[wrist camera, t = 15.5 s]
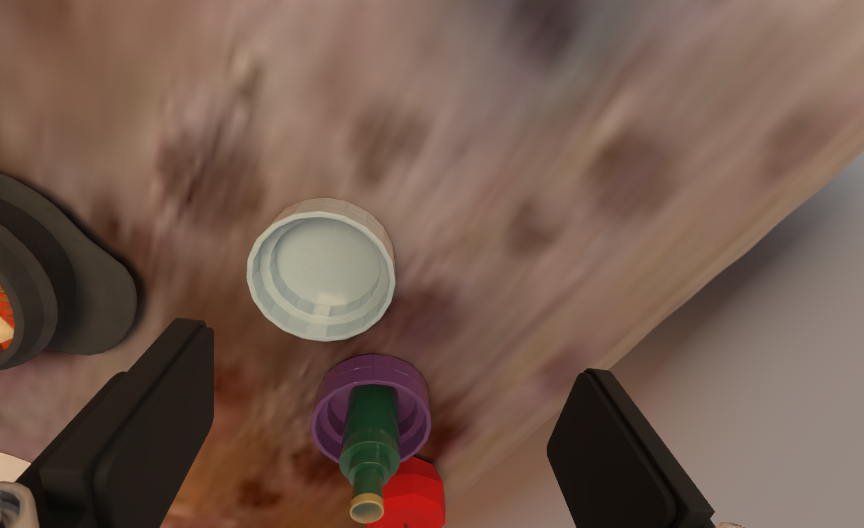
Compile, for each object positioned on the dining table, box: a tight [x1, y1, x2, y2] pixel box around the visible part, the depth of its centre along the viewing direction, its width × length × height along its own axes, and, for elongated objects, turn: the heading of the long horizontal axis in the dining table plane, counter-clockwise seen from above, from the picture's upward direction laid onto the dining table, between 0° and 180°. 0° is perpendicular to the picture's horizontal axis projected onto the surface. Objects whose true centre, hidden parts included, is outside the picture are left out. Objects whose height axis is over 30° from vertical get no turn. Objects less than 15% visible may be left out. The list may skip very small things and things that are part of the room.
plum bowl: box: [310, 354, 431, 463], centre depth 47 cm, size 13×13×5 cm
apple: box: [365, 456, 445, 528], centre depth 50 cm, size 11×11×10 cm
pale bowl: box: [246, 197, 395, 342], centre depth 39 cm, size 13×13×5 cm
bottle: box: [339, 384, 400, 523], centre depth 42 cm, size 6×6×14 cm
